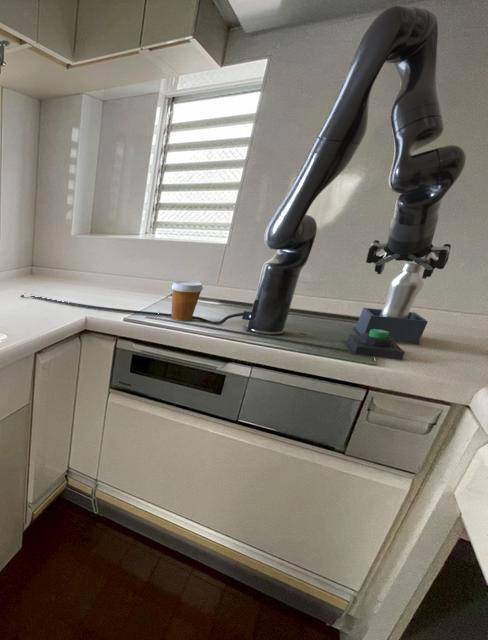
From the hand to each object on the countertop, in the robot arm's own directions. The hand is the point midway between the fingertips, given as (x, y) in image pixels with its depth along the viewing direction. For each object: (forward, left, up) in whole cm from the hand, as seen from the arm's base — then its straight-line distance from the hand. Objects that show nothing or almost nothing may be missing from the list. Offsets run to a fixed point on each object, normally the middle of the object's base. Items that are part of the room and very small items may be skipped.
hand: (402, 273), depth 104 cm
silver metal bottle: (+4, +11, -19) cm, 22 cm away
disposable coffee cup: (-50, +2, -19) cm, 54 cm away
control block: (-2, -8, -19) cm, 21 cm away
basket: (+4, +11, -19) cm, 22 cm away
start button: (-2, -8, -15) cm, 17 cm away
